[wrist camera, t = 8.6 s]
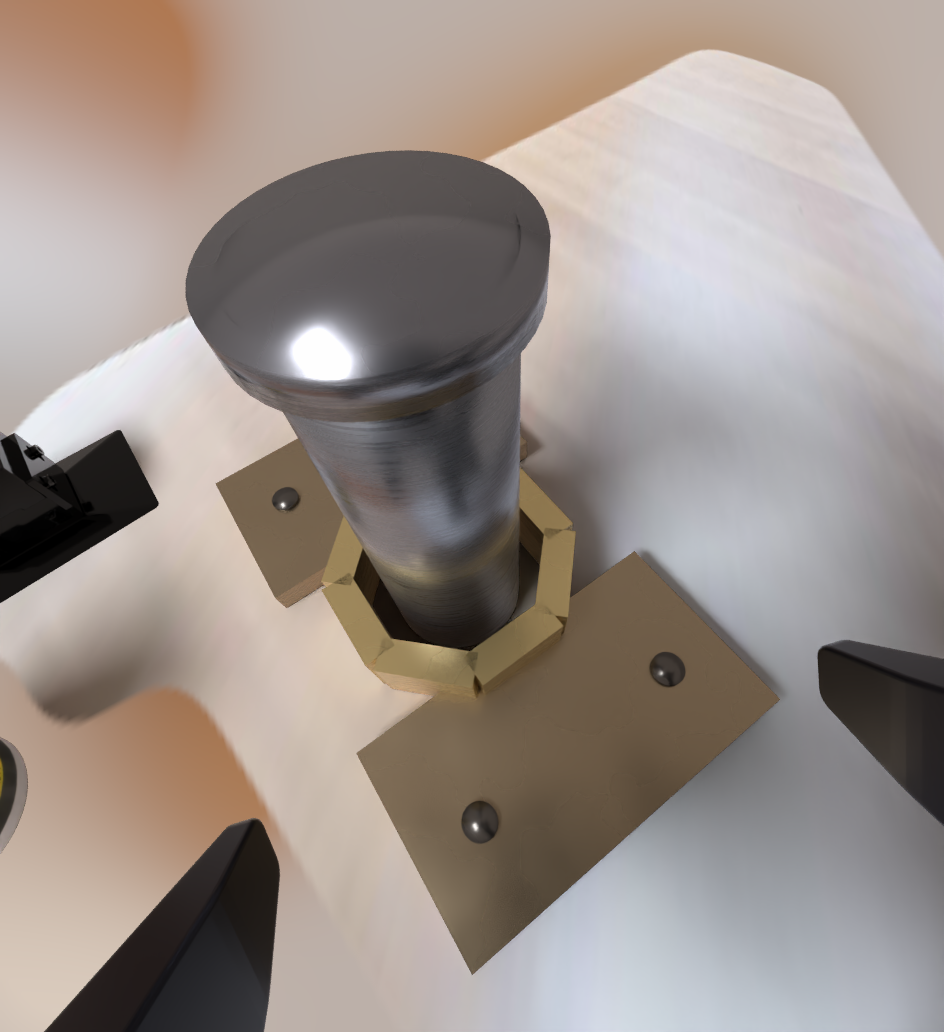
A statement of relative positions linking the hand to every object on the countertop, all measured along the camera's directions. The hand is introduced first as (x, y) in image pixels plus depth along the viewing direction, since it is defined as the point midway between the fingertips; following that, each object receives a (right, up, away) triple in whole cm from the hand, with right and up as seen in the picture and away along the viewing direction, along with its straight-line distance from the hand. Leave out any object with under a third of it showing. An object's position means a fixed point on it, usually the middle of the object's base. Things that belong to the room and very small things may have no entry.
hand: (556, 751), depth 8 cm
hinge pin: (-2, +1, +11) cm, 11 cm away
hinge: (-2, +1, +11) cm, 11 cm away
